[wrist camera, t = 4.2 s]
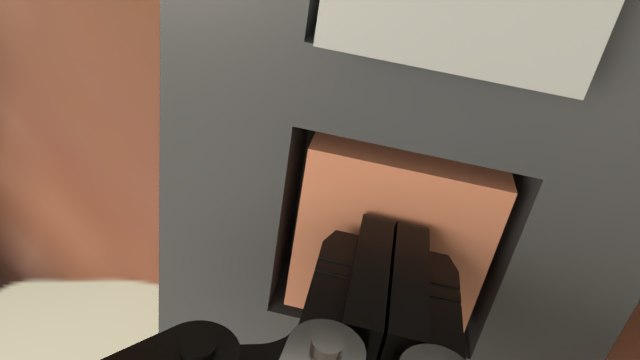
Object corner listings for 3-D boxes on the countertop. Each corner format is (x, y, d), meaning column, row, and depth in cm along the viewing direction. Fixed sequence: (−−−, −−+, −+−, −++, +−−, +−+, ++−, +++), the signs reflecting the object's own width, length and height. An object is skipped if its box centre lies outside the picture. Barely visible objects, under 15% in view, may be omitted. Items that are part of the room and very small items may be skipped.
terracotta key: (504, 142, 13) (517, 194, 11) (454, 281, 16) (458, 346, 14) (327, 106, 14) (308, 149, 12) (303, 246, 16) (283, 304, 14)
